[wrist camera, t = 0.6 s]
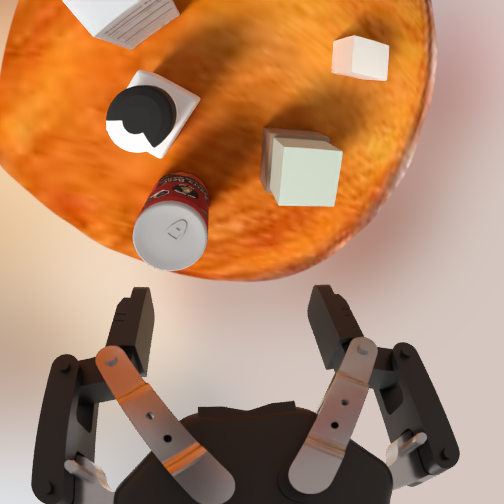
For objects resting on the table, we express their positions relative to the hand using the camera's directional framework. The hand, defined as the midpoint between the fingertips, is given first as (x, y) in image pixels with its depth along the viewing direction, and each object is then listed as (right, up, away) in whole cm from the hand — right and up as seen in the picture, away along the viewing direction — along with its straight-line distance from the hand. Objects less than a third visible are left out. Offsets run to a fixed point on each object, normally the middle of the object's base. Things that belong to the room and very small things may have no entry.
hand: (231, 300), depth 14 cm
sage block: (+6, +12, +18) cm, 22 cm away
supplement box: (-12, +31, +10) cm, 34 cm away
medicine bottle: (-10, +20, +17) cm, 28 cm away
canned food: (-9, +10, +24) cm, 27 cm away
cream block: (+13, +27, +15) cm, 34 cm away
